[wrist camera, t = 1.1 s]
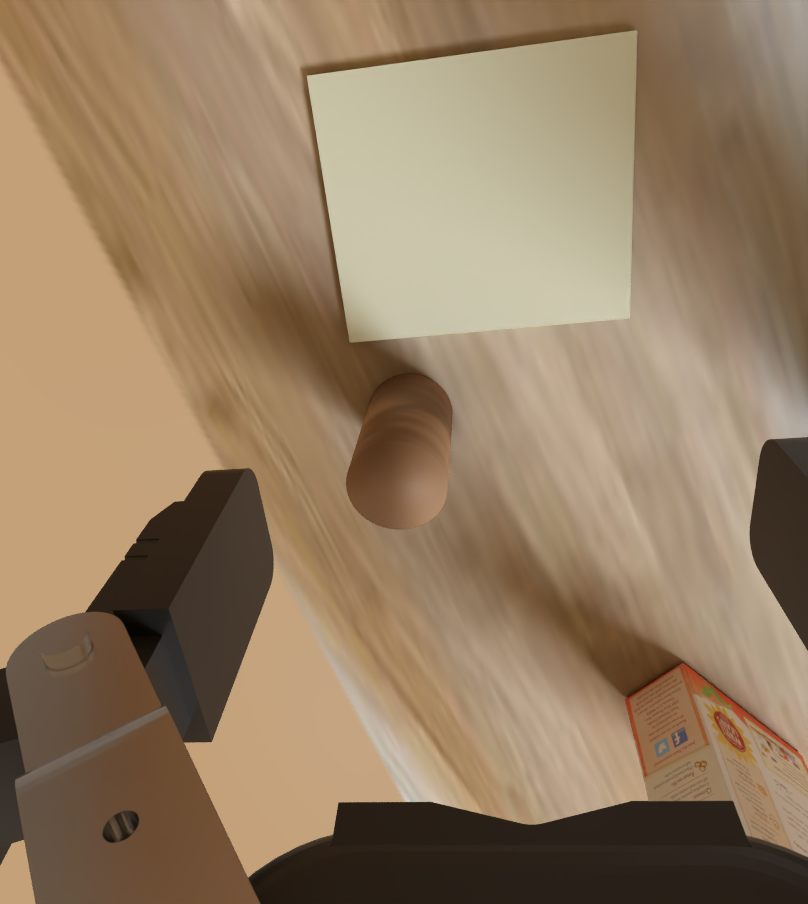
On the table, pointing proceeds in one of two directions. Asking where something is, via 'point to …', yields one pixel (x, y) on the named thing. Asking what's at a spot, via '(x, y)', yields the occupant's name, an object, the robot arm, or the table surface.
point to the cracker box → (719, 757)
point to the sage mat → (482, 187)
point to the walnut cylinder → (402, 454)
